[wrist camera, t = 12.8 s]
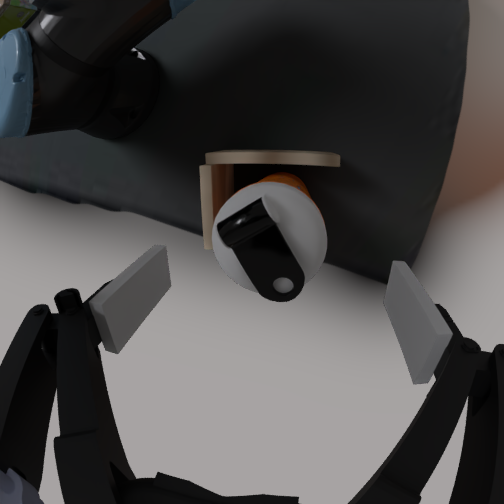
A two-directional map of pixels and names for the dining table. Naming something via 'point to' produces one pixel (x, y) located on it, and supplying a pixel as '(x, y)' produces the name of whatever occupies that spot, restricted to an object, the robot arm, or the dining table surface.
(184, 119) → the dining table surface
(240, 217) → the shaker bottle
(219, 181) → the bookend
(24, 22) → the tea box
